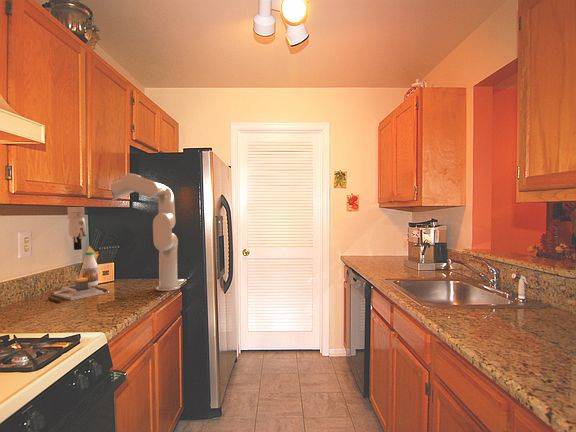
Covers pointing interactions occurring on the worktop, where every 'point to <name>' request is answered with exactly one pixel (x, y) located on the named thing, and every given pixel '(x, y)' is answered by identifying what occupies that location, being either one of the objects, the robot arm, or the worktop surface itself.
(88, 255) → the milk bottle
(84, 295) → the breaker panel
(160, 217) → the robot arm
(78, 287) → the block
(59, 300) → the cord
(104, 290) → the cord
